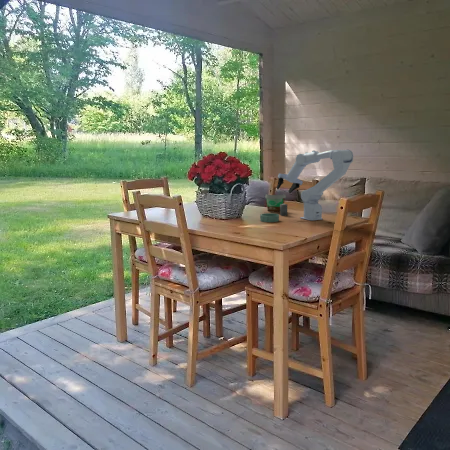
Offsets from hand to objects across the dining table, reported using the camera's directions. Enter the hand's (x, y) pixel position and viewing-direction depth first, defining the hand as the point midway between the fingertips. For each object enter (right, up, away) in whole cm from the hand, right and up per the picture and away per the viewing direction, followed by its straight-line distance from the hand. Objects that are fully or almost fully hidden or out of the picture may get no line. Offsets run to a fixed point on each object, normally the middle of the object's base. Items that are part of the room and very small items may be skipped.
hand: (283, 190), depth 261 cm
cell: (0, -14, -1) cm, 14 cm away
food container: (-4, -12, +12) cm, 17 cm away
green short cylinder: (-9, -17, -16) cm, 25 cm away
